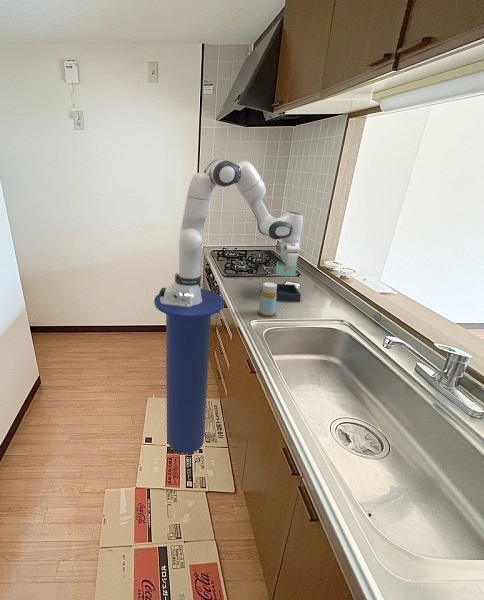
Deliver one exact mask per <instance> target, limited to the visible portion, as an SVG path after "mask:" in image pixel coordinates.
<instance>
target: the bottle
mask: <svg viewBox="0 0 484 600" xmlns="http://www.w3.org/2000/svg"><path fill="white" fill-rule="evenodd" d="M277 284H278V283H275V282H271V281H269V282H264V283H263V284H262V291H261V292H260V298H259V299H260V301H259V309H258V313H259V314H260V316H263V317H268V318H269V317H272V316H274V315H275V311H276V305H277V301H276V298H277V293H276V290H277Z"/></svg>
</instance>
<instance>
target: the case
mask: <svg viewBox="0 0 484 600" xmlns="http://www.w3.org/2000/svg"><path fill="white" fill-rule="evenodd" d="M297 268H298V264H297V263H296V266H295V267H291V268H290V270H289V273H286V272H285V269H286V264H285V262H283V261H276V267H275V274H276V276H279V277H280V276H281V277H296V273H297Z"/></svg>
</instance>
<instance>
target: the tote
mask: <svg viewBox="0 0 484 600" xmlns="http://www.w3.org/2000/svg"><path fill="white" fill-rule="evenodd" d="M276 284H277V290H276V293H277V298H276V302H294V303H295V302H297V303H298V302H299V303H300V302H301V297H302V294H301V292H300V291H299V289H298V288H297V287H296V284H288V283H276Z"/></svg>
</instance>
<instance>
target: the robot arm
mask: <svg viewBox="0 0 484 600" xmlns="http://www.w3.org/2000/svg"><path fill="white" fill-rule="evenodd" d="M232 185H235V186H236V188H237V189H238V191H239V193H240V195H241V196H242V198H243V199H244V200H245V202H246V203H247V204H248V205H249V207H250V209H251V211H252V213H253V215H254V217H255V220H256V223H257V229H258V231H259V233H260V234H261V235H263V236H266V237H268V238H269V239H272V240H280V245H279V246H280V254H279V256H280V258H281V260H282V262H285V264H286V269H285V272H286V273H289V270H290V268H291V267H295V266H296V264H297V262H298V258H299V253H300V252H301V245H300V244H301V234H302V231H303V224H304V217H303V214H301V213H299V212H296V211H287V212H286V213H284V214H283V215H281V216H279V217H275V216H272V215H271V214H270V213H269V211H268V209H267V208H266V206H265V203H264V202H263V199H264V197H265V196H266V193H267V188H266V185H265V183H264V180H263V178H262V176H261V175H260V173H259V172H258V170H257V169H256V167H254V165H253V164H252V163H251V162H250V161H248V160H242V161H239V162H238V163H234V162H233V161H230V160H227V159H224V158H223V159H222V158H220V159H219V158H217V159H215V160H212V162H210V163H209V164H208V165H207V167H206V168H205V169H204V171H202V172H201V171H200V172H196V173H195V174H193V175H192V177H191V180H190V182H189V185H188V189H187V193H186V199H185V204H184V210H183V215H182V219H181V226H180V230H179V239H178V272H176V273H174V281H173V282H171V283H170V284H168V285H167V286H166V287H162V288H161V289H159V292H158V294H160V296H161V297H160V302H161V304H165V305H172V306H180V307H191V306H194V305H198V304H200V303H201V302H202V297H201V290H200V289H201V286H202V275H201V267H202V254H203V253H202V252H203V231H204V227H205V223H206V219H207V216H208V212H209V206H210V202H211V198H212V193H213V190H214V189H215V187H217V186H218V187H224V188H226V187H230V186H232Z"/></svg>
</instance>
